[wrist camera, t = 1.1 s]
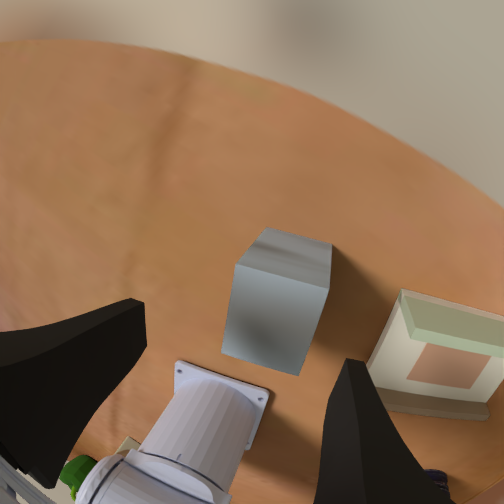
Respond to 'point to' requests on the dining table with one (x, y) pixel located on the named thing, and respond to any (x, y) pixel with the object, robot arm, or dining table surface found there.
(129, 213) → the dining table surface
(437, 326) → the open-front display tray
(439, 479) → the storage jar
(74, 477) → the bell pepper
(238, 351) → the slate cabinet block
